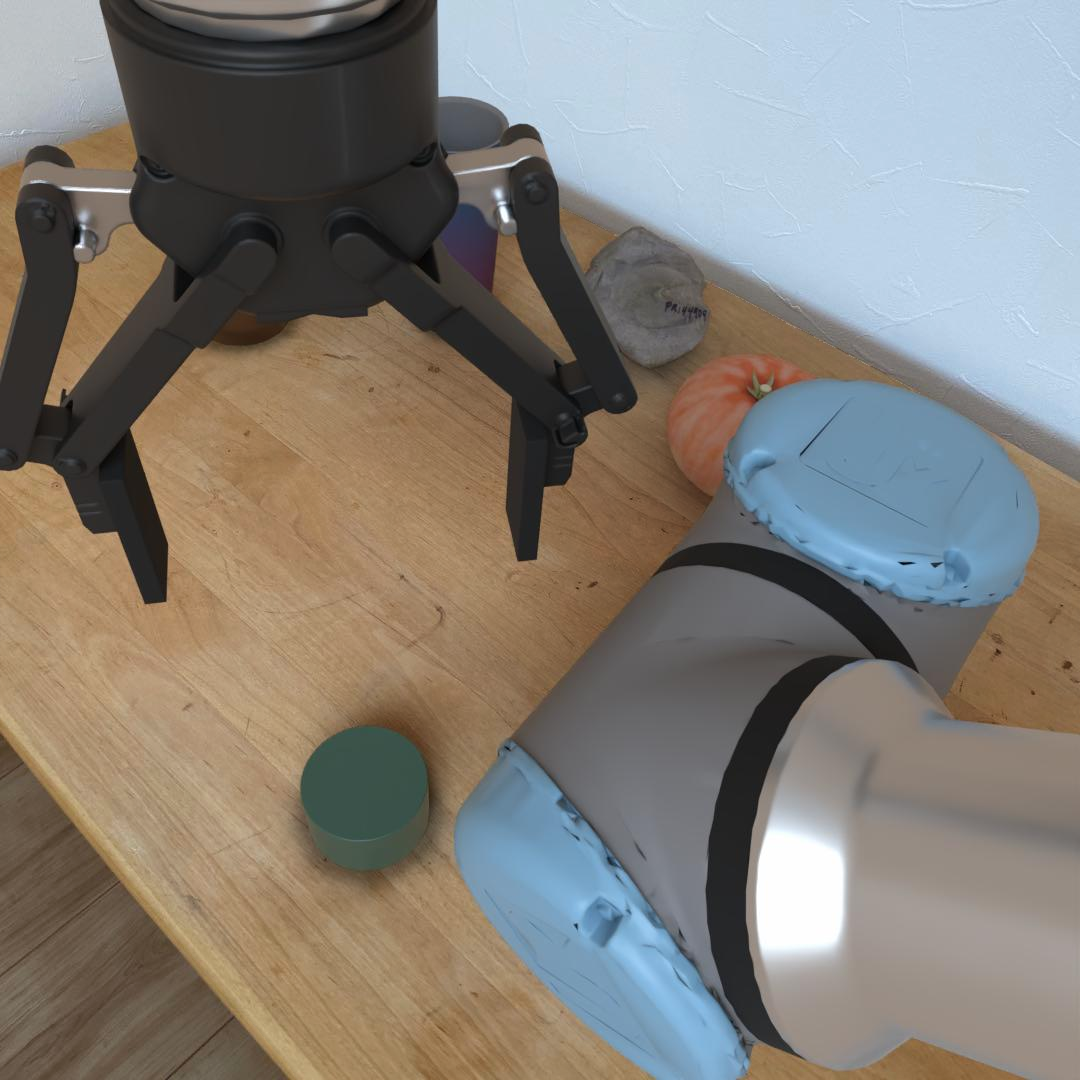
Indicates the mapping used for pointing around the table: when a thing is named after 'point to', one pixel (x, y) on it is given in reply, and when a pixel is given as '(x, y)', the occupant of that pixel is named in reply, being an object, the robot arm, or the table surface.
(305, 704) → the table surface
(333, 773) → the green cylinder
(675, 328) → the fossil
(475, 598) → the table surface
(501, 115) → the cup
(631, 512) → the table surface
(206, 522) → the table surface
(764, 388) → the tomato
